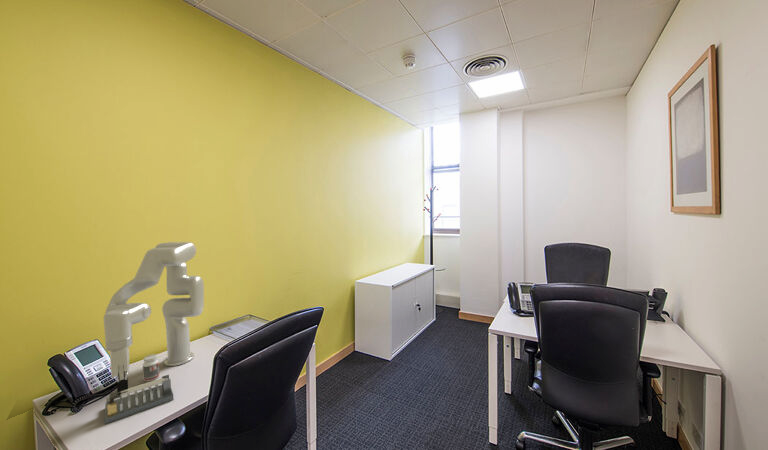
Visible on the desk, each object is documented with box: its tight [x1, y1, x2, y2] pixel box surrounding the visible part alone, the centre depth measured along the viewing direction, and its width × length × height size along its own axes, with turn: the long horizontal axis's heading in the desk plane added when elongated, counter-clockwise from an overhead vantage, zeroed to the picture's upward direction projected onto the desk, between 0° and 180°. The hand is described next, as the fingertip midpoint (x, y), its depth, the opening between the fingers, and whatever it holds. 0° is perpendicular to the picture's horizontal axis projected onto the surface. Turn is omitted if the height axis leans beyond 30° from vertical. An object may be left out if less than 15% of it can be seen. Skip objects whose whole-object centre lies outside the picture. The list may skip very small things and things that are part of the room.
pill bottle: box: [142, 353, 160, 382], centre depth 135 cm, size 6×6×10 cm
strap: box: [109, 377, 168, 400], centre depth 117 cm, size 18×4×1 cm, turn 132°
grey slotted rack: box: [104, 374, 174, 425], centre depth 117 cm, size 12×20×7 cm, turn 132°
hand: (122, 389), depth 114 cm, fingers closed
